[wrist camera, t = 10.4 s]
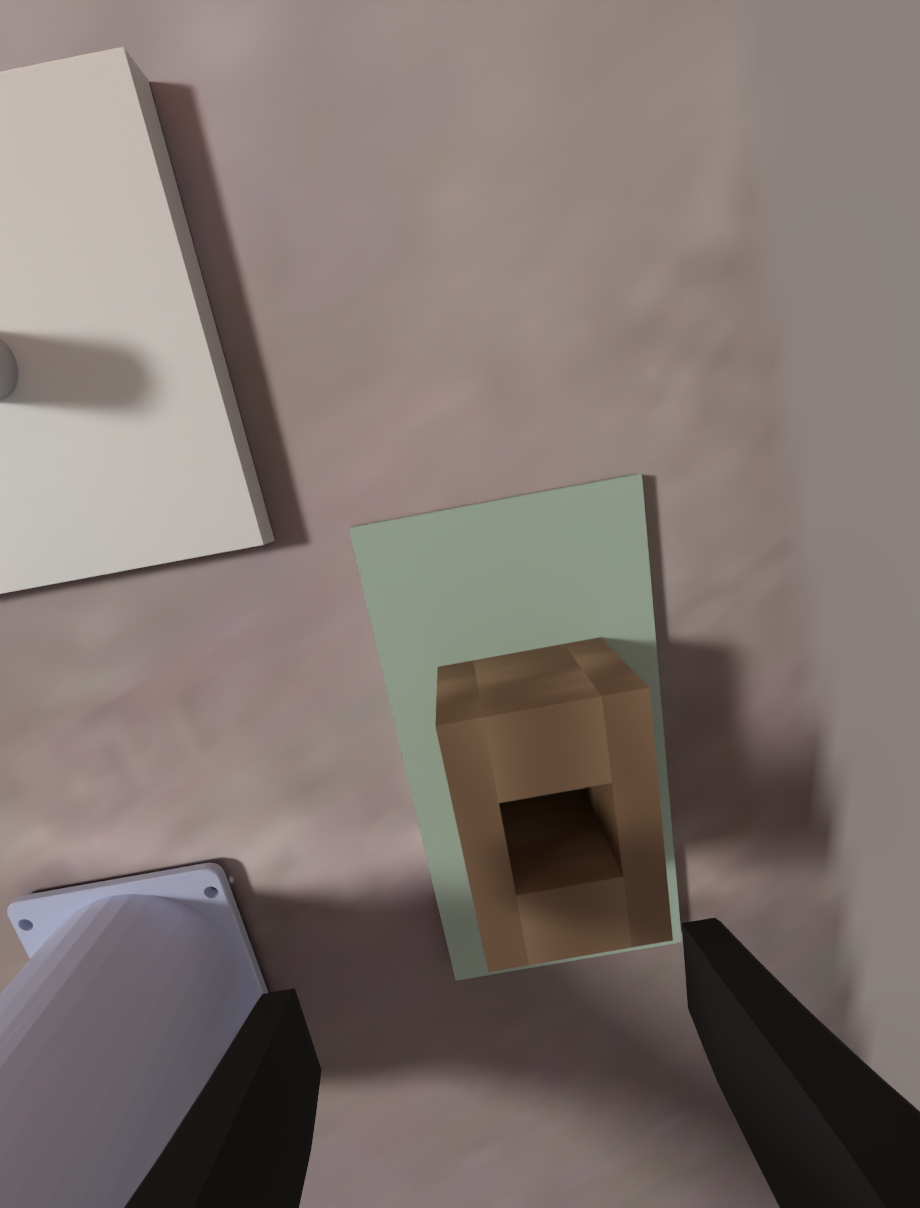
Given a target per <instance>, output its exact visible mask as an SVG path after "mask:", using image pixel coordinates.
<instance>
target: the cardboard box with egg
mask: <svg viewBox="0 0 920 1208" xmlns="http://www.w3.org/2000/svg"><path fill="white" fill-rule="evenodd" d="M435 727H436V731H437V736H438V741H439V745H440V750H441V755H442V759H443V764H444V769H445V773H446V778H447V783H448V787H449V792H450V796H451V801H452V806H453V810H454V815H455V820H456V824H457V829H458V834H459V838H460V843H461V848H462V852H463V857H464V861H465V866H466V871H467V875H468V880H469V885H470V889H471V894H472V899H473V903H474V908H475V913H476V917H477V922H478V926H479V931H480V936H481V940H482V945H483V950H484V954H485V959H486V964H487V968H488V972H493V971H499V970H505V969H510V968H516V967H522V966H528V965H534V964H539V963H545V962H551V961H557V960H562V959H568V958H574V957H580V956H586V955H591V954H597V953H603V952H609V951H615V950H620V949H626V948H632V947H638V946H644V945H649V944H655V943H661V942H667V941H673V935H672V924H671V913H670V903H669V892H668V881H667V871H666V860H665V849H664V838H663V828H662V817H661V806H660V795H659V785H658V774H657V763H656V752H655V742H654V731H653V720H652V710H651V699H650V688H649V686H648V685H647V684H646V683H645V682H644V681H643V680H642V679H641V678H640V677H639V676H638V675H637V674H636V673H635V672H634V671H633V670H632V669H631V668H630V667H629V666H628V665H627V664H626V663H625V662H624V661H623V660H622V659H621V658H620V657H619V656H618V655H617V654H616V653H615V652H614V651H613V650H612V649H611V648H610V647H609V646H608V645H607V644H606V643H605V641H604V640H603V639H602V638H601V637H598V638H593V639H588V640H582V641H577V642H571V643H566V644H560V645H555V646H549V647H544V648H538V649H533V650H527V651H522V652H516V653H511V654H505V655H500V656H494V657H489V658H484V659H478V660H473V661H467V662H462V663H456V664H451V665H445V666H440V667H438V668H437V695H436V722H435ZM581 788H584V789H581ZM575 789H579V790H575ZM570 790H573V791H570ZM564 791H568V792H564ZM558 792H562V793H558ZM553 793H556V794H553ZM547 794H551V795H547ZM541 795H545V796H541ZM536 796H540V797H536ZM530 797H534V798H530ZM525 798H528V799H525ZM519 799H523V800H519ZM513 800H517V801H513ZM508 801H512V802H508ZM502 802H506V803H502Z"/></svg>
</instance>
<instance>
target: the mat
mask: <svg viewBox="0 0 920 1208" xmlns="http://www.w3.org/2000/svg"><path fill="white" fill-rule="evenodd" d="M349 532H350V536H351V540H352V544H353V549H354V553H355V557H356V561H357V565H358V570H359V574H360V578H361V582H362V587H363V591H364V595H365V599H366V604H367V608H368V612H369V616H370V621H371V625H372V629H373V633H374V637H375V642H376V646H377V650H378V654H379V659H380V663H381V667H382V671H383V676H384V680H385V684H386V688H387V693H388V697H389V701H390V705H391V710H392V714H393V718H394V722H395V726H396V731H397V735H398V739H399V743H400V748H401V752H402V756H403V760H404V765H405V769H406V773H407V777H408V782H409V786H410V790H411V794H412V798H413V803H414V807H415V811H416V815H417V820H418V824H419V828H420V832H421V837H422V841H423V845H424V849H425V854H426V858H427V862H428V866H429V870H430V875H431V879H432V883H433V887H434V892H435V896H436V900H437V904H438V909H439V913H440V917H441V921H442V926H443V930H444V934H445V938H446V943H447V947H448V951H449V955H450V959H451V964H452V968H453V972H454V976H455V981H458V980H463V979H469V978H475V977H481V976H487V975H493V974H498V973H504V972H510V971H516V970H522V969H528V968H534V967H539V966H545V965H551V964H557V963H563V962H569V961H574V960H580V959H586V958H592V957H598V956H604V955H609V954H615V953H621V952H627V951H633V950H639V949H644V948H650V947H656V946H662V945H668V944H674V943H679V942H682V937H681V926H680V914H679V902H678V891H677V879H676V867H675V856H674V844H673V832H672V820H671V809H670V797H669V785H668V774H667V762H666V750H665V739H664V727H663V715H662V704H661V692H660V680H659V668H658V657H657V645H656V633H655V622H654V610H653V598H652V587H651V575H650V563H649V552H648V540H647V528H646V516H645V505H644V493H643V481H642V474H631V475H625V476H620V477H615V478H609V479H604V480H599V481H593V482H588V483H582V484H577V485H572V486H566V487H561V488H556V489H550V490H545V491H539V492H534V493H529V494H523V495H518V496H513V497H507V498H502V499H496V500H491V501H486V502H480V503H475V504H470V505H464V506H459V507H453V508H448V509H443V510H437V511H432V512H427V513H421V514H416V515H410V516H405V517H400V518H394V519H389V520H384V521H378V522H373V523H367V524H362V525H357V526H352V527H350V528H349ZM598 637H601V638H602V639H603V640H604V641H605V643H606V644H607V645H608V646H609V647H610V648H611V649H612V650H613V651H614V652H615V653H616V654H617V655H618V656H619V657H620V658H621V659H622V660H623V661H624V662H625V663H626V664H627V665H628V666H629V667H630V668H631V669H632V670H633V671H634V672H635V673H636V674H637V675H638V676H639V677H640V678H641V679H642V680H643V681H644V682H645V683H646V684H647V685H648V686H649V688H650V699H651V710H652V720H653V731H654V742H655V752H656V763H657V774H658V785H659V795H660V806H661V817H662V828H663V838H664V849H665V860H666V871H667V881H668V892H669V903H670V913H671V924H672V935H673V941H667V942H661V943H655V944H649V945H644V946H638V947H632V948H626V949H620V950H615V951H609V952H603V953H597V954H591V955H586V956H580V957H574V958H568V959H562V960H557V961H551V962H545V963H539V964H534V965H528V966H522V967H516V968H510V969H505V970H499V971H493V972H488V968H487V964H486V959H485V954H484V950H483V945H482V940H481V936H480V931H479V926H478V922H477V917H476V913H475V908H474V903H473V899H472V894H471V889H470V885H469V880H468V875H467V871H466V866H465V861H464V857H463V852H462V848H461V843H460V838H459V834H458V829H457V824H456V820H455V815H454V810H453V806H452V801H451V796H450V792H449V787H448V783H447V778H446V773H445V769H444V764H443V759H442V755H441V750H440V745H439V741H438V736H437V731H436V727H435V722H436V695H437V668H438V667H440V666H445V665H451V664H456V663H462V662H467V661H473V660H478V659H484V658H489V657H494V656H500V655H505V654H511V653H516V652H522V651H527V650H533V649H538V648H544V647H549V646H555V645H560V644H566V643H571V642H577V641H582V640H588V639H593V638H598ZM581 789H584V788H581ZM575 790H579V789H575ZM570 791H573V790H570ZM564 792H568V791H564ZM558 793H562V792H558ZM553 794H556V793H553ZM547 795H551V794H547ZM541 796H545V795H541ZM536 797H540V796H536ZM530 798H534V797H530ZM525 799H528V798H525ZM519 800H523V799H519ZM513 801H517V800H513ZM508 802H512V801H508ZM502 803H506V802H502Z"/></svg>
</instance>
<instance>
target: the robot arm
mask: <svg viewBox="0 0 920 1208" xmlns="http://www.w3.org/2000/svg"><path fill="white" fill-rule="evenodd" d="M211 887H214V888H216V889H217V890H214V889H212V888H211ZM7 913H8V917H9V919H10V921H11V923H12V925H13V926H14V928H15V930H16V932H17V934H18V936H19V938H20V940H21V942H22V944H23V946H24V948H25V950H26V952H27V954H28V956H29V958H30V960H29V961H28V962H27V963H26V965H25V966H24V967H23V968H22V969H21V970H20V972H19V973H18V974H17V975H16V976H15V977H14V978H13V980H12V981H11V982H10V983H9V984H8V985H7V987H6V988H5V989H4V990H3V991H2V992H1V994H0V1208H299V1204H300V1200H301V1195H302V1190H303V1186H304V1181H305V1176H306V1171H307V1167H308V1162H309V1157H310V1152H311V1146H312V1139H313V1132H314V1124H315V1117H316V1110H317V1101H318V1093H319V1085H320V1076H321V1067H320V1064H319V1061H318V1058H317V1055H316V1052H315V1049H314V1046H313V1043H312V1040H311V1036H310V1033H309V1030H308V1027H307V1024H306V1021H305V1018H304V1015H303V1012H302V1009H301V1006H300V1003H299V1000H298V997H297V994H296V991H295V989H289V990H283V991H277V992H271V993H268V990H267V988H266V985H265V982H264V979H263V977H262V974H261V971H260V968H259V965H258V963H257V960H256V957H255V954H254V952H253V949H252V946H251V943H250V941H249V938H248V935H247V932H246V930H245V927H244V924H243V921H242V918H241V916H240V913H239V910H238V907H237V905H236V902H235V899H234V896H233V894H232V891H231V888H230V885H229V883H228V880H227V877H226V874H225V872H224V870H223V868H222V867H221V866H219V865H218V864H215V863H204V864H198V865H192V866H187V867H181V868H175V869H170V870H164V871H158V872H153V873H147V874H141V875H136V876H130V877H124V878H119V879H113V880H107V881H101V882H96V883H90V884H84V885H79V886H73V887H67V888H62V889H56V890H50V891H45V892H39V893H33V894H28V895H22V896H20V897H18V898H17V899H16V900H15V901H14V902H13V903H12V904H11V905H10V906H9V907H8V909H7ZM682 932H683V945H684V959H685V973H686V986H687V1000H688V1009H689V1012H690V1014H691V1017H692V1019H693V1022H694V1024H695V1027H696V1030H697V1032H698V1035H699V1037H700V1040H701V1042H702V1045H703V1047H704V1050H705V1052H706V1055H707V1057H708V1060H709V1062H710V1064H711V1067H712V1069H713V1072H714V1074H715V1077H716V1079H717V1082H718V1084H719V1086H720V1088H721V1090H722V1092H723V1094H724V1096H725V1098H726V1100H727V1102H728V1104H729V1106H730V1108H731V1110H732V1112H733V1114H734V1116H735V1118H736V1120H737V1122H738V1124H739V1126H740V1128H741V1130H742V1132H743V1134H744V1136H745V1138H746V1141H747V1143H748V1145H749V1147H750V1149H751V1151H752V1153H753V1155H754V1157H755V1159H756V1161H757V1163H758V1165H759V1167H760V1169H761V1171H762V1173H763V1175H764V1177H765V1179H766V1181H767V1183H768V1185H769V1187H770V1189H771V1191H772V1193H773V1195H774V1197H775V1199H776V1201H777V1203H778V1205H779V1207H780V1208H920V1111H918V1110H917V1109H916V1108H915V1107H914V1106H913V1105H912V1104H910V1103H909V1102H908V1101H907V1100H906V1099H905V1098H904V1097H903V1096H901V1095H900V1094H899V1093H898V1092H897V1091H896V1090H895V1089H893V1088H892V1087H891V1086H890V1085H889V1084H887V1082H885V1081H884V1080H883V1079H882V1078H881V1077H880V1076H879V1075H878V1074H877V1073H875V1072H874V1071H873V1070H872V1069H871V1068H870V1067H869V1066H868V1065H867V1064H865V1063H864V1062H863V1061H862V1060H861V1059H860V1058H859V1057H858V1056H857V1055H856V1054H854V1053H853V1052H852V1051H851V1050H850V1049H849V1048H848V1047H847V1046H846V1045H845V1044H844V1043H843V1042H842V1041H841V1040H840V1039H838V1038H837V1037H836V1036H835V1035H834V1034H833V1033H832V1032H831V1031H830V1030H829V1029H828V1028H827V1027H826V1026H825V1025H824V1024H822V1023H821V1022H820V1021H819V1020H818V1019H817V1018H816V1017H815V1016H814V1015H813V1014H812V1013H811V1012H810V1011H809V1010H808V1009H807V1008H806V1007H805V1006H803V1005H802V1004H801V1003H800V1002H799V1001H798V1000H797V999H796V998H795V997H794V996H793V995H792V994H791V993H790V992H789V991H788V990H787V989H786V988H785V987H784V986H783V985H782V984H781V983H780V982H779V981H778V980H777V979H776V978H775V977H774V976H773V975H772V974H771V973H770V972H769V971H768V970H767V969H766V968H765V967H764V966H763V965H762V964H761V963H760V962H759V961H758V960H757V959H756V958H755V957H754V956H753V955H752V954H751V953H750V952H749V951H748V950H747V949H746V948H745V947H744V946H743V944H742V943H741V942H740V941H739V940H738V939H737V938H736V937H735V936H734V935H733V934H732V933H731V932H730V931H729V930H728V929H727V928H726V927H725V926H724V925H723V924H722V922H720V921H719V920H717V919H716V918H710V919H704V920H698V921H693V922H687V923H682Z"/></svg>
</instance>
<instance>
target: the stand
mask: <svg viewBox="0 0 920 1208" xmlns="http://www.w3.org/2000/svg"><path fill="white" fill-rule="evenodd" d="M273 541H275V540H274V536H273V533H272V529H271V525H270V522H269V518H268V514H267V511H266V507H265V503H264V500H263V496H262V493H261V489H260V485H259V482H258V478H257V474H256V471H255V467H254V463H253V460H252V456H251V453H250V449H249V445H248V442H247V438H246V434H245V431H244V427H243V423H242V420H241V416H240V413H239V409H238V405H237V402H236V398H235V394H234V391H233V387H232V384H231V380H230V376H229V373H228V369H227V365H226V362H225V358H224V354H223V351H222V347H221V344H220V340H219V336H218V333H217V329H216V325H215V322H214V318H213V314H212V311H211V307H210V304H209V300H208V296H207V293H206V289H205V285H204V282H203V278H202V274H201V271H200V267H199V264H198V260H197V256H196V253H195V249H194V245H193V242H192V238H191V234H190V231H189V227H188V224H187V220H186V216H185V213H184V209H183V205H182V202H181V198H180V195H179V191H178V187H177V184H176V180H175V176H174V173H173V169H172V165H171V162H170V158H169V155H168V151H167V147H166V144H165V140H164V136H163V133H162V129H161V125H160V122H159V118H158V115H157V111H156V107H155V104H154V100H153V96H152V93H151V89H150V85H149V82H148V79H147V78H146V76H145V75H144V74H143V72H142V71H141V70H140V68H139V67H138V66H137V64H136V63H135V62H134V60H133V59H132V58H131V56H130V55H129V54H128V52H127V51H126V50H125V48H124V47H120V48H115V49H110V50H105V51H100V52H95V53H90V54H85V55H80V56H75V57H70V58H65V59H60V60H56V61H51V62H46V63H41V64H36V65H31V66H26V67H21V68H16V69H11V70H6V71H1V72H0V594H2V593H7V592H13V591H18V590H23V589H29V588H34V587H40V586H45V585H50V584H56V583H61V582H66V581H72V580H77V579H83V578H88V577H93V576H99V575H104V574H110V573H115V572H120V571H126V570H131V569H136V568H142V567H147V566H153V565H158V564H163V563H169V562H174V561H179V560H185V559H190V558H196V557H201V556H206V555H212V554H217V553H222V552H228V551H233V550H239V549H244V548H249V547H255V546H260V545H265V544H267V543H270V542H273Z"/></svg>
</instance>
